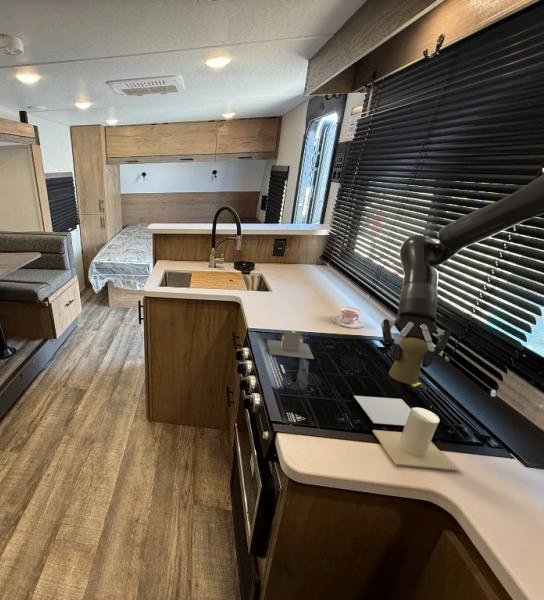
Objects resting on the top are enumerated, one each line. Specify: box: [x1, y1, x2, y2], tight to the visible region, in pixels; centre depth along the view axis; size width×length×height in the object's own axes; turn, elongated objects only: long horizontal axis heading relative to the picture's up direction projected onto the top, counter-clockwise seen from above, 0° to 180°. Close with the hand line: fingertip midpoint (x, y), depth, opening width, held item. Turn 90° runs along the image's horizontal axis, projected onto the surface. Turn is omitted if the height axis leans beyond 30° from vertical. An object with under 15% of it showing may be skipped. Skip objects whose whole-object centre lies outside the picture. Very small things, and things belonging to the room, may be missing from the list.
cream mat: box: [372, 429, 457, 471], centre depth 73 cm, size 12×10×1 cm
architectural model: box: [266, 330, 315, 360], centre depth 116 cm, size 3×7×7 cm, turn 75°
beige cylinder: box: [398, 407, 441, 457], centre depth 71 cm, size 5×5×10 cm
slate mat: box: [352, 395, 412, 428], centre depth 85 cm, size 13×11×1 cm
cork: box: [388, 337, 428, 385], centre depth 78 cm, size 6×6×11 cm
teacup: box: [331, 305, 365, 329], centre depth 135 cm, size 12×12×6 cm
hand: (410, 362), depth 77 cm, fingers closed on cork, 5 cm apart
